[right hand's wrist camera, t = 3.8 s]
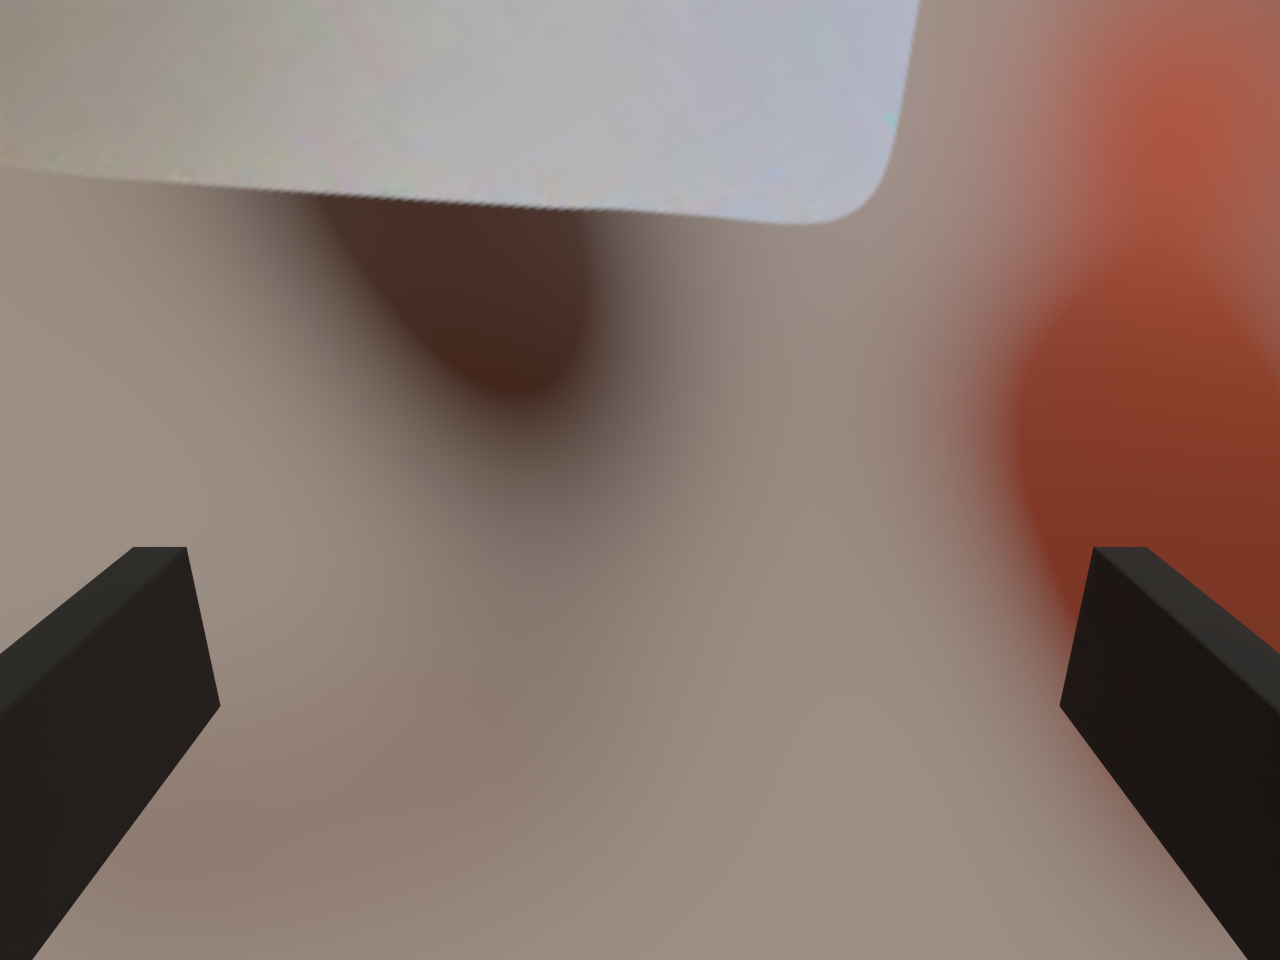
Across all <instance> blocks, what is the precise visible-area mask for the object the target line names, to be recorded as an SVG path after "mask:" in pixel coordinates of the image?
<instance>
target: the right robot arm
mask: <svg viewBox="0 0 1280 960" xmlns="http://www.w3.org/2000/svg"><path fill="white" fill-rule="evenodd" d="M219 707H220V702H219V697H218V692H217V688H216V683H215V678H214V674H213V669H212V664H211V660H210V655H209V650H208V646H207V641H206V636H205V632H204V627H203V622H202V618H201V613H200V608H199V604H198V599H197V594H196V590H195V585H194V580H193V576H192V571H191V566H190V562H189V557H188V552H187V548H186V547H133V548H132V549H130V550H129V551H128V552H127V553H125V554H124V555H123V556H122V557H120V558H119V559H118V560H117V561H115V562H114V563H113V564H112V565H110V566H109V567H108V568H107V569H106V570H104V571H103V572H102V573H101V574H99V575H98V576H97V577H96V578H94V579H93V580H92V581H91V582H89V583H88V584H87V585H86V586H84V587H83V588H82V589H81V590H79V591H78V592H77V593H76V594H74V595H73V596H72V597H71V598H69V599H68V600H67V601H66V602H64V603H63V604H62V605H61V606H59V607H58V608H57V609H56V610H54V611H53V612H52V613H51V614H49V615H48V616H47V617H46V618H44V619H43V620H42V621H41V622H39V623H38V624H37V625H36V626H34V627H33V628H32V629H31V630H30V631H28V632H27V633H26V634H25V635H23V636H22V637H21V638H20V639H18V640H17V641H16V642H15V643H13V644H12V645H11V646H10V647H8V648H7V649H6V650H5V651H3V652H2V653H1V654H0V960H32V959H33V958H34V957H35V955H36V954H37V953H38V951H39V950H40V949H41V947H42V946H43V945H44V943H45V942H46V940H47V939H48V938H49V936H50V935H51V934H52V932H53V931H54V930H55V928H56V927H57V926H58V924H59V923H60V922H61V920H62V919H63V918H64V916H65V915H66V914H67V912H68V911H69V909H70V908H71V907H72V905H73V904H74V903H75V901H76V900H77V899H78V897H79V896H80V895H81V893H82V892H83V891H84V889H85V888H86V886H87V885H88V884H89V882H90V881H91V880H92V878H93V877H94V876H95V874H96V873H97V872H98V870H99V869H100V868H101V866H102V865H103V864H104V862H105V861H106V860H107V858H108V857H109V856H110V854H111V853H112V851H113V850H114V849H115V847H116V846H117V845H118V843H119V842H120V841H121V839H122V838H123V837H124V835H125V834H126V832H127V831H128V830H129V829H130V827H131V826H132V825H133V823H134V822H135V820H136V819H137V818H138V816H139V815H140V814H141V812H142V811H143V810H144V808H145V807H146V806H147V804H148V803H149V801H150V800H151V799H152V798H153V796H154V795H155V794H156V792H157V791H158V789H159V788H160V787H161V785H162V784H163V783H164V781H165V780H166V779H167V777H168V776H169V775H170V773H171V772H172V771H173V769H174V768H175V767H176V765H177V764H178V763H179V761H180V760H181V758H182V757H183V756H184V754H185V753H186V752H187V750H188V749H189V748H190V746H191V745H192V744H193V742H194V741H195V740H196V738H197V737H198V735H199V734H200V733H201V732H202V730H203V729H204V727H205V726H206V725H207V723H208V722H209V721H210V719H211V718H212V717H213V715H214V714H215V713H216V711H217V710H218V708H219ZM1060 707H1061V709H1062V710H1063V711H1064V713H1065V714H1066V715H1067V717H1068V718H1069V719H1070V721H1071V722H1072V723H1073V725H1074V726H1075V727H1076V729H1077V730H1078V732H1079V733H1080V734H1081V736H1082V737H1083V738H1084V740H1085V741H1086V742H1087V744H1088V745H1089V746H1090V748H1091V749H1092V750H1093V752H1094V753H1095V754H1096V756H1097V757H1098V758H1099V760H1100V761H1101V763H1102V764H1103V765H1104V767H1105V768H1106V769H1107V771H1108V772H1109V773H1110V775H1111V776H1112V777H1113V779H1114V780H1115V781H1116V783H1117V784H1118V785H1119V787H1120V788H1121V789H1122V791H1123V792H1124V794H1125V795H1126V796H1127V798H1128V799H1129V800H1130V802H1131V803H1132V804H1133V806H1134V807H1135V808H1136V810H1137V811H1138V812H1139V814H1140V815H1141V816H1142V818H1143V819H1144V820H1145V822H1146V823H1147V825H1148V826H1149V827H1150V829H1151V830H1152V831H1153V833H1154V834H1155V835H1156V837H1157V838H1158V839H1159V841H1160V842H1161V843H1162V845H1163V846H1164V847H1165V849H1166V850H1167V851H1168V853H1169V854H1170V856H1171V857H1172V858H1173V859H1174V861H1175V862H1176V864H1177V865H1178V866H1179V868H1180V869H1181V870H1182V872H1183V873H1184V874H1185V876H1186V877H1187V878H1188V880H1189V881H1190V882H1191V884H1192V885H1193V887H1194V888H1195V889H1196V891H1197V892H1198V893H1199V895H1200V896H1201V897H1202V899H1203V900H1204V901H1205V903H1206V904H1207V905H1208V907H1209V908H1210V909H1211V911H1212V912H1213V913H1214V915H1215V916H1216V918H1217V919H1218V920H1219V921H1220V923H1221V924H1222V926H1223V927H1224V928H1225V930H1226V931H1227V932H1228V934H1229V935H1230V936H1231V938H1232V939H1233V940H1234V942H1235V943H1236V944H1237V946H1238V947H1239V949H1240V950H1241V951H1242V953H1243V954H1244V955H1245V957H1246V958H1247V959H1248V960H1280V654H1279V653H1278V652H1277V651H1275V650H1274V649H1273V648H1272V647H1270V646H1269V645H1268V644H1267V643H1265V642H1264V641H1263V640H1262V639H1260V638H1259V637H1258V636H1257V635H1255V634H1254V633H1253V632H1252V631H1250V630H1249V629H1248V628H1247V627H1245V626H1244V625H1243V624H1242V623H1241V622H1239V621H1238V620H1237V619H1236V618H1234V617H1233V616H1232V615H1231V614H1229V613H1228V612H1227V611H1226V610H1224V609H1223V608H1222V607H1221V606H1219V605H1218V604H1217V603H1216V602H1214V601H1213V600H1212V599H1211V598H1209V597H1208V596H1207V595H1206V594H1204V593H1203V592H1202V591H1201V590H1199V589H1198V588H1197V587H1196V586H1194V585H1193V584H1192V583H1191V582H1189V581H1188V580H1187V579H1186V578H1184V577H1183V576H1182V575H1181V574H1180V573H1178V572H1177V571H1176V570H1174V569H1173V568H1172V567H1171V566H1170V565H1168V564H1167V563H1166V562H1165V561H1163V560H1162V559H1161V558H1160V557H1158V556H1157V555H1156V554H1155V553H1153V552H1152V551H1151V550H1150V549H1148V548H1147V547H1094V548H1093V552H1092V557H1091V562H1090V566H1089V571H1088V576H1087V580H1086V585H1085V590H1084V594H1083V599H1082V604H1081V609H1080V613H1079V618H1078V622H1077V627H1076V632H1075V636H1074V641H1073V646H1072V650H1071V655H1070V660H1069V664H1068V669H1067V674H1066V678H1065V683H1064V688H1063V692H1062V697H1061V702H1060Z"/></svg>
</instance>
